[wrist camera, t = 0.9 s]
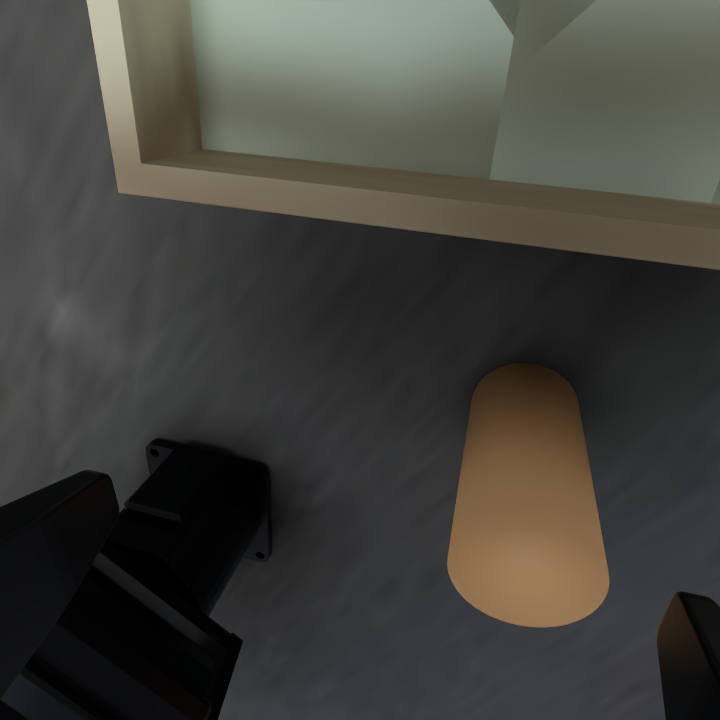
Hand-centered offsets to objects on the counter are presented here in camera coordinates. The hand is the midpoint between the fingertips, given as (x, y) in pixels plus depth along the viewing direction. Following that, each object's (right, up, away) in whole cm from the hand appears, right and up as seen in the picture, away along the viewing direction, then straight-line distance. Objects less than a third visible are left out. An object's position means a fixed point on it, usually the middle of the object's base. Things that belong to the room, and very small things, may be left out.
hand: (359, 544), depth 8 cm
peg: (+6, +1, +12) cm, 14 cm away
